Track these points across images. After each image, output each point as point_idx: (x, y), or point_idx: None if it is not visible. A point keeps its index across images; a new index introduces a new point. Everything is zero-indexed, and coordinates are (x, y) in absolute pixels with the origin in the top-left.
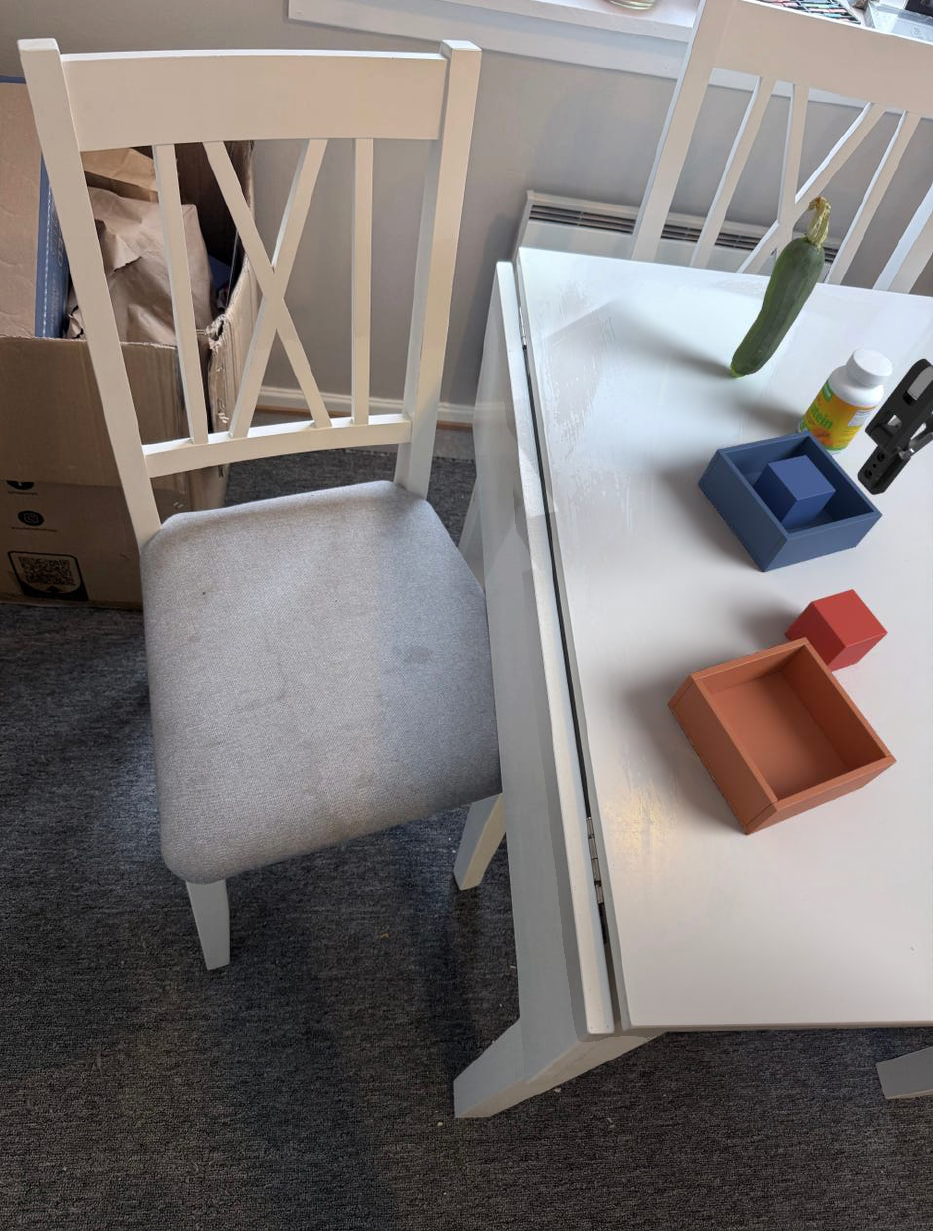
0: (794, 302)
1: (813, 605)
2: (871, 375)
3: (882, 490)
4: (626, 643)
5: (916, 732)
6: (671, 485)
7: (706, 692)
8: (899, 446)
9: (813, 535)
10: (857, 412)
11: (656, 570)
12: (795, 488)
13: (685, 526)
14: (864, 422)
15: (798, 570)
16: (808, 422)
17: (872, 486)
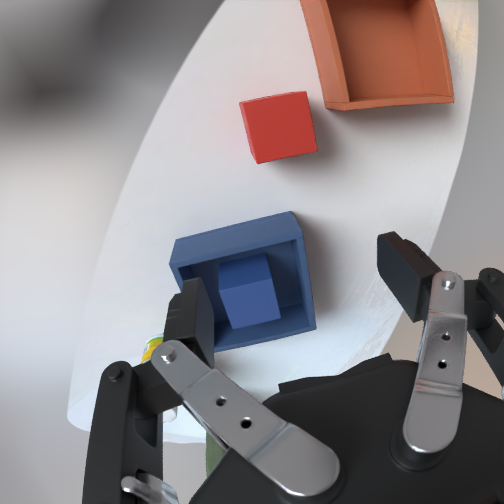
0: (224, 451)
1: (316, 146)
2: None
3: (391, 235)
4: (432, 154)
5: (212, 29)
6: (329, 299)
7: (449, 83)
8: (496, 283)
9: (263, 238)
10: None
11: (384, 217)
12: (265, 292)
13: (339, 260)
14: (144, 360)
15: (251, 212)
16: None
17: (407, 242)
